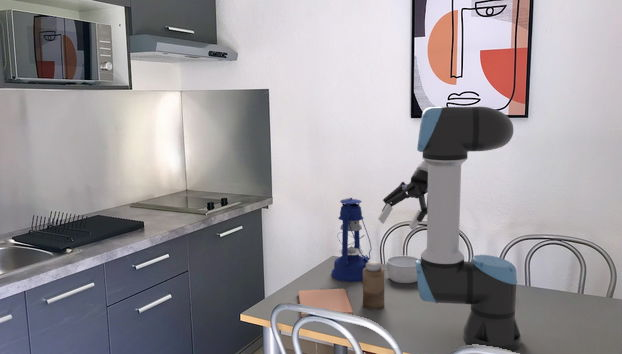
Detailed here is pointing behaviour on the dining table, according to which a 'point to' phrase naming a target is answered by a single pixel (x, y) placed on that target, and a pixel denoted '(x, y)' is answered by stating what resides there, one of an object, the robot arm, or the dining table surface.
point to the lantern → (350, 261)
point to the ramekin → (402, 269)
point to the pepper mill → (373, 286)
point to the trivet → (326, 300)
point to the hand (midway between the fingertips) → (395, 224)
